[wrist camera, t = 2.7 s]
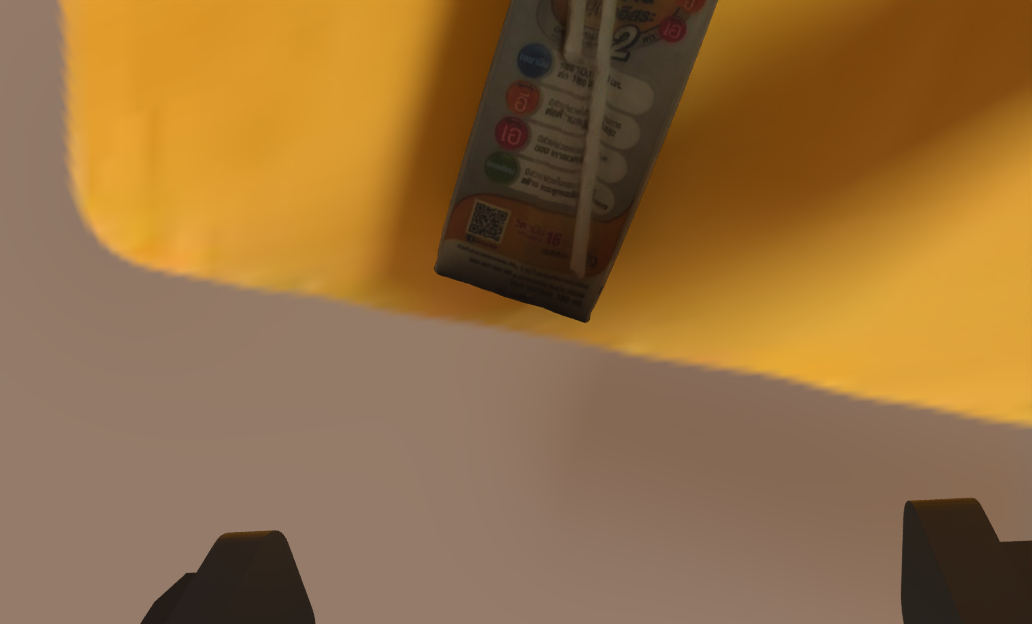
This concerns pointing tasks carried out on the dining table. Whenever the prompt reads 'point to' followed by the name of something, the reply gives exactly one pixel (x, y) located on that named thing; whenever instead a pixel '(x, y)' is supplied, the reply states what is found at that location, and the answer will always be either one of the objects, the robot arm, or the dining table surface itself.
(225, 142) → the dining table surface
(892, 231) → the dining table surface
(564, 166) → the beverage carton
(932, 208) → the dining table surface
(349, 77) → the dining table surface
